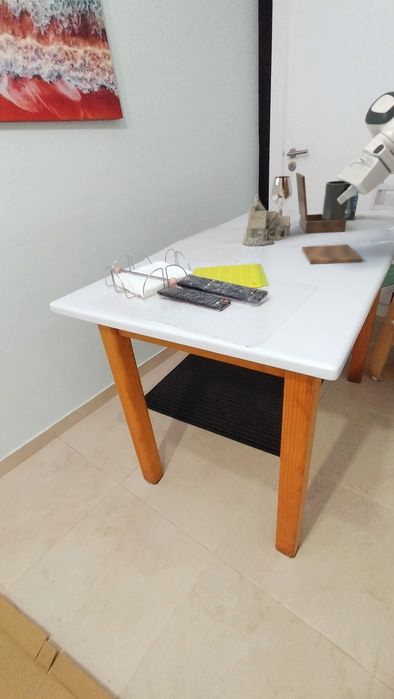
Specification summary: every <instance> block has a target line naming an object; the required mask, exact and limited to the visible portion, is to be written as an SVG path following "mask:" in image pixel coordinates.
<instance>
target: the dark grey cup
mask: <svg viewBox="0 0 394 699" xmlns="http://www.w3.org/2000/svg"><path fill="white" fill-rule="evenodd" d="M350 186H351V184H349V183H346V182H344V181H339V180H331V181H327V182H325V189H324V196H323V205H322V213H321V214H322V218H323V219H328V220H341V219H345V218H346V217H347V212H348V206H349V200H350V198H349V199H347V200H346V201H345V202H344V203H342V204H340V203H339V202H338V201H337V200H336V199H337V197H339V195H340V194H343V193H344V192H345V191H346V190H348V188H349V187H350Z"/></svg>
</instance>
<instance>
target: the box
mask: <svg viewBox="0 0 394 699" xmlns="http://www.w3.org/2000/svg"><path fill="white" fill-rule="evenodd" d="M359 194H360V193H358V192H357V193H356V194H355V195H354V196H352V197H350V200H349V206H348V212H347V217H346V218H345V219H346V221H355V217H356V212H357V207H358V206H357V205H358V202H359V196H360V195H359Z"/></svg>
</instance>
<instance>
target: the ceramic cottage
mask: <svg viewBox="0 0 394 699" xmlns="http://www.w3.org/2000/svg"><path fill="white" fill-rule="evenodd" d="M253 200H254V203H251V204H250V205H249V210H248V214H247V216H248V217H247V226H246V227H245V228H246V229H245V232H244V233H243V240H242V244H243V245H245V246H249V247H250V246H251V247H256V246H257V247H260V246H268V245H272V244H273V245H274V244H275V241H280V240H286V239H289V238H290V230H291V225H292V224H291V216H290V215H283V209H282V208H281V209H278V212H277V211H276V210H266V208H265V206H264V205H263V204H262V202H261V201H260V196H259V194H255V195H254V199H253Z"/></svg>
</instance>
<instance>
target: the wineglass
mask: <svg viewBox="0 0 394 699" xmlns="http://www.w3.org/2000/svg"><path fill="white" fill-rule="evenodd" d="M292 195H293V184H292V180H291V176H289V175H281V176H275V177H273V181H272V185H271V189H270V198H271V200H272V201H273V203H275V205H277V206H278V208H279V209H282V208H283V206H284V205H285V204H287V202H289V201H290V199H291V198H292ZM279 209H278V210H279Z"/></svg>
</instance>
